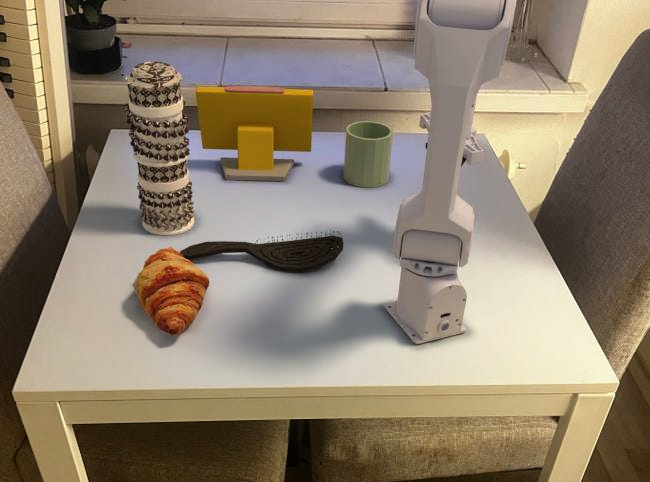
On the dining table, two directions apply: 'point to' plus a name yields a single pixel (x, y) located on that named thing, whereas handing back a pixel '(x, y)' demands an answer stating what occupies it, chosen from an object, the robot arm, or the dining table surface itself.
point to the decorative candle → (160, 147)
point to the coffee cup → (367, 153)
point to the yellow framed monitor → (255, 128)
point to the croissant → (171, 290)
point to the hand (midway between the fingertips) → (442, 189)
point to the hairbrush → (277, 252)
